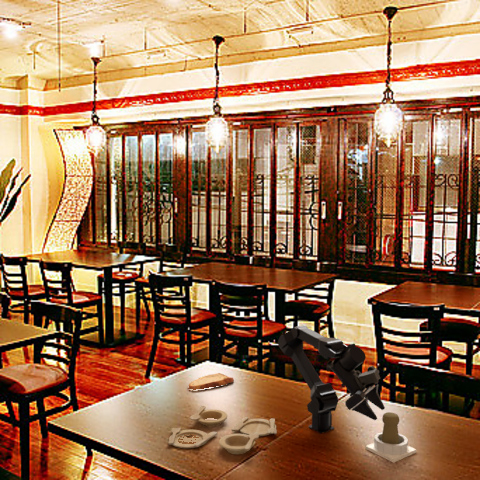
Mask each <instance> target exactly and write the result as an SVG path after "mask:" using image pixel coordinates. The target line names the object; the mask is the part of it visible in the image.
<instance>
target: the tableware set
mask: <svg viewBox="0 0 480 480" xmlns="http://www.w3.org/2000/svg"><path fill="white" fill-rule="evenodd" d="M207 418H214V419H217V420H205V419H207ZM189 419H190V420H191V421H197V422H198V423H200V424H201V425H202V424H203V425H202V426H204V425H206V426H205V427H209V426H212V427H217V426H219V424H220V423H222V422H223V423H224V421H227V419H228V414H227V412H226V411H224V410H220V409H213V408H212V409H206V406H205V405H201V407H200V408H199V409H198V411H196V413H195V414H193V415H190V417H189ZM275 419H276V418H270V419H269V420H268V419H266V418H250V419H249V416H244V417H243V418H242V419H240V421H238V423H237V424H236V425H234V426H233V427H232V428H231V432H237V431H239V433H231V434H226V435H224V436H222V437H221V438H220V439H219V441H218V442H219V443H218V444H219V445H220V447H221V448H223V449H225V450H226V452H228V453H229V454H232V455H241V454H243V455H244V454H245V453H247V452H248V451H250V450H251V448H252V447H254V446H255V445H256V440H259V437H265V436H269V435H273V434H274V435H277V431H278V430H277V425H276V424H275V423H276V420H275ZM220 425H221V424H220ZM181 429H182V427H172V429H171V430H170V433H171V435H169V438H168V442H167V444H168V445H170V446H174V447H176V448H181V449H193V448H198V447H201V446H203V445H206V444H207V443H208V442H209V440H211V439H212V438H213V437H215V436H217V435H218V432H217V431H211V432H209V433H207V432H205V431H202V430H198V429H182V430H181ZM185 434H186V435H187V434H189V435H190V434H194V435H196V437H199V438H193V437H194V436H193V437H192V438H187V437H186V436H184V435H185ZM189 435H187V436H189ZM180 436H182V437H180ZM183 437H184V438H183ZM179 438H180V439H183V440H179V441H182V442H183V441H184V442H188V443H189V442H192V443H193V442H196V443H194V444H182V443H179V442H178V439H179ZM195 439H196V440H195ZM191 440H192V441H191Z"/></svg>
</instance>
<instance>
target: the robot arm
mask: <svg viewBox="0 0 480 480" xmlns="http://www.w3.org/2000/svg"><path fill="white" fill-rule="evenodd" d="M304 342H305V343H306V344H308V345H310V346H312V347H314V349H317V350H318V354H319V355H320V356H322V357H323V358H324V359H326V360H329V361H328V362H327V363H326V372H330V371H332V372H333V374H334V375H335V376H336V377H337V378H338V380H339V381H340V382H341V384H340V386H341V387H343V388H344V387H345V388H346V389H347V390H348V391H349V392H350V394H349V396H350V397H348V398H347V399H346V400H345V401H344V402H345V407H346V408H347V409H348V411H350V410H351V411H354V412H357V413H358V414H360V415H363V416H365V417H368V418H369V419H371V420H373V421H376V420H378V417H377V415H376V414H375V412H374V410H373V409H372V407H371V406H370V404H369V402H370V403H371V404H372V405H374V406H376V407H377V408H379V409H380V410H381V411H383V410H385V408H386V407H385V406H384V403H383V401H382V399H381V397H380V394H379V392H378V391H379V384H378V383H379V380H381V377H380V370H379V369H378V368H376V367H375V365H370V366H368V367H367V370H366V371H365V372H361V371H360V370H358V369H357V370H355V369H356V368H358V367H359V366H360V365H361V364H363V363H364V362H365V361H366V353H365V351H364V350H362V349H361V348H360V347H359V346H357V345H356V343H354V342H353V343H349V344H348V345H346V344H345V343H344V342H343V340H341V339H339V338H335V337H327V336H324V335H322V334H320V333H318V332H316V331H314V330H312V329H310V328H308V326H306V325H304V324H303V325H297V326H294V327H292V328H291V329H290V330H289V331H287V332H285V333H283V334H281V335H280V336H279V338H278V340H277V345H278V347H279V349H280V350H281V352H282V353H283V354H284V355H286V356H287V357H289V358H291V359H292V362H293V363H294V365H295V366H296V368H297V370H298V372H299V373H300V375H301V376H302V378H303V380H304V381H305V383H306V385H307V386H308V389H310V401H309V402H308V403H307V404H306V409H307V412H309V413H311V424H309V425H308V428H310V429H311V430H314V431H315V432H317V433H320V434H323V433H326V432H329V431H332V430H334V429H335V426H333V424H332V423H333V422H332V421H333V416H332V415H333V414H332V412H334V411H335V412H336V410H337V406H338V402H339V397H338V395H337V391H336V390H335V389H334V387H333V385H332V384H331V383H330V382H327V383H324V382H323V381H322V379H321V377H320V376H319V374H318V372H317V371H316V370H315V368H314V366H313V365H312V362H311V361H310V359H309V358H308V357H307V355H306V353H305V352H304ZM334 358H335V359H334ZM330 359H334V360H330Z"/></svg>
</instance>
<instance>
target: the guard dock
mask: <svg viewBox="0 0 480 480" xmlns="http://www.w3.org/2000/svg"><path fill="white" fill-rule="evenodd" d="M382 433H383V431H380V432H378V433H375V435H374V437H373V439H374V440H373V442H372V443H370V444H367V445H366V446H365V450H366V451H369V452H371V453H373V454H375V455H377V456H379V457H381V458H384V459H385V460H388V461H390V462H392V463H393V464H394V463H395V462H398V461H400V460H402V459H405V458H408V457H409V456H411V455H414V454H416V453H417V449H416V448H414V447H412V446H410V445H409V439H408V438H407V437H406V436H405V435H403V434H401V433H399V432H398V434H399V443H400V444H387V443H384V442H382V441H381V440H382Z"/></svg>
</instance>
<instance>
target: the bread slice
mask: <svg viewBox="0 0 480 480" xmlns="http://www.w3.org/2000/svg"><path fill="white" fill-rule="evenodd" d="M234 381H235V380H234V377H230V376H228V375H227V374H223V373H220V372H217V373H212V374H208V375H204V376H202V377H198V378H197V379H195V380H192V381H191V382H189V384H188V386H189V389H193V390H196V389H204V388H209V387H216V386H221V385H224V386H227V385H229V384H228V383H230V384H232V383H233V382H234ZM231 382H232V383H231ZM226 384H227V385H226Z"/></svg>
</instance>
